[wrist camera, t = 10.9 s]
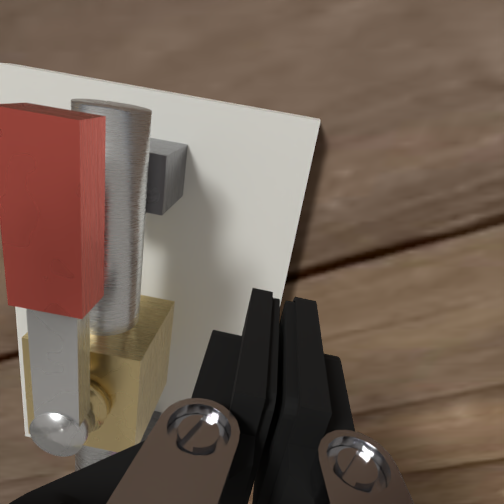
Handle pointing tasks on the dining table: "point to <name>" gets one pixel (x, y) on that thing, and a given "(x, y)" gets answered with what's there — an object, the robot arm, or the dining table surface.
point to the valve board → (201, 207)
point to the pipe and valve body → (126, 285)
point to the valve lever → (54, 256)
